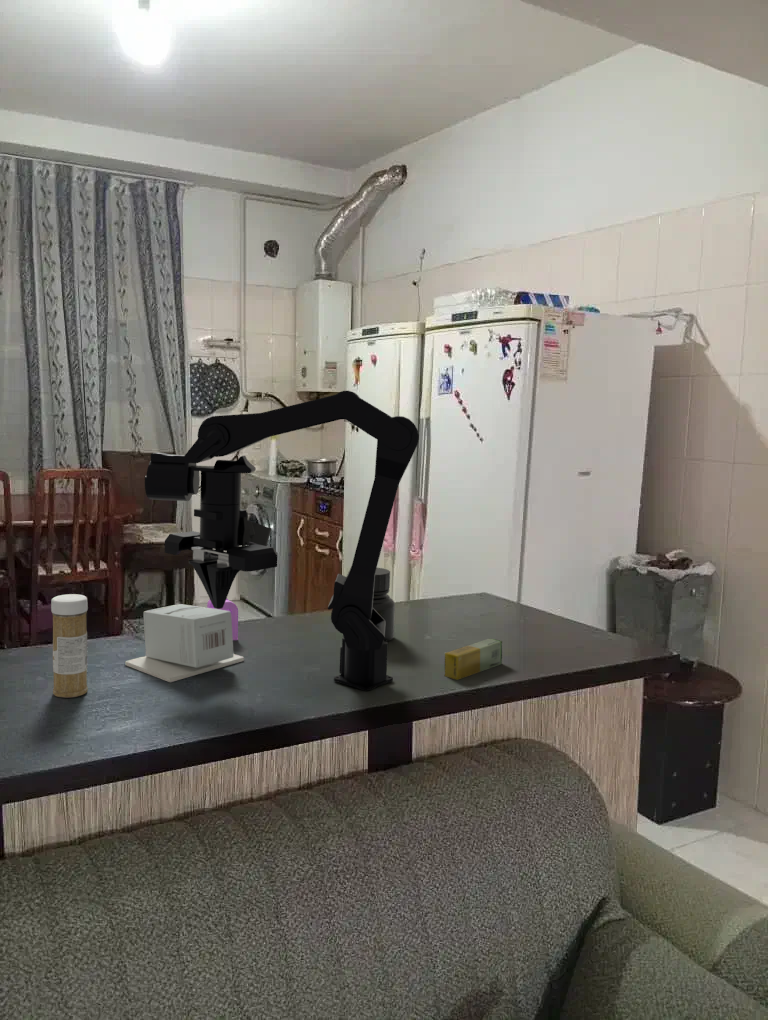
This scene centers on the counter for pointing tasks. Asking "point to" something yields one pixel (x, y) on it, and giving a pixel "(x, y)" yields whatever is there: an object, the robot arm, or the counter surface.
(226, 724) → the counter surface
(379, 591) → the ink bottle
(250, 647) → the counter surface
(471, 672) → the medication box
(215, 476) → the robot arm
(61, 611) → the sprinkles bottle
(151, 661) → the mat
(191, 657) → the supplement box
